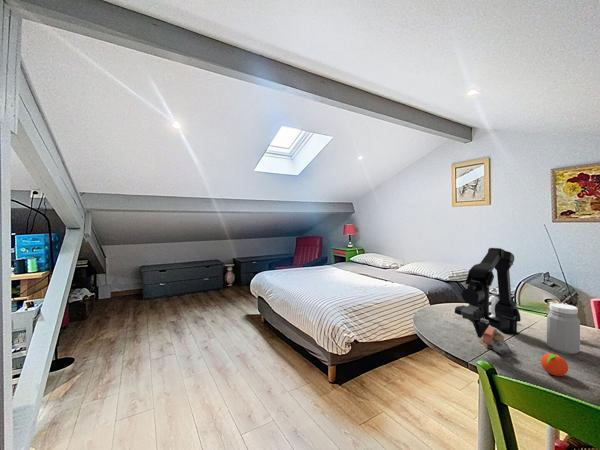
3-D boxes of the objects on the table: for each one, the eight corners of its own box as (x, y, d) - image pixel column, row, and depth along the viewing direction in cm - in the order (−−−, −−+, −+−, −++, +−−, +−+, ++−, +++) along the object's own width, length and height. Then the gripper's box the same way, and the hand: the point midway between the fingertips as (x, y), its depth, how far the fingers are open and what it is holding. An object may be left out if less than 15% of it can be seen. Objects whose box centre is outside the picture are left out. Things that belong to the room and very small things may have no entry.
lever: (486, 329, 117) (486, 322, 117) (497, 331, 115) (497, 324, 114) (480, 342, 105) (480, 334, 105) (492, 345, 102) (493, 337, 102)
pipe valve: (472, 334, 125) (472, 323, 125) (487, 335, 124) (487, 324, 124) (495, 356, 105) (495, 342, 105) (513, 358, 104) (513, 344, 104)
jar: (541, 346, 113) (542, 304, 113) (554, 342, 117) (554, 301, 117) (572, 357, 104) (573, 311, 104) (584, 352, 108) (585, 307, 108)
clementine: (559, 383, 88) (560, 361, 88) (534, 372, 95) (534, 352, 94) (572, 377, 91) (572, 356, 91) (547, 367, 98) (547, 347, 98)
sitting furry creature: (477, 314, 151) (477, 293, 151) (491, 313, 152) (491, 292, 152) (491, 320, 142) (491, 298, 141) (506, 320, 143) (506, 297, 142)
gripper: (445, 294, 113) (445, 331, 114) (490, 308, 96) (490, 351, 96) (464, 292, 118) (463, 327, 118) (510, 305, 100) (510, 346, 101)
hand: (479, 337), depth 108 cm, fingers closed
